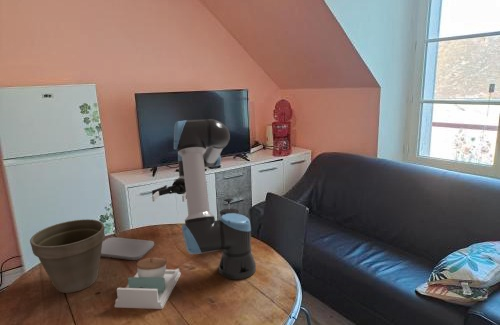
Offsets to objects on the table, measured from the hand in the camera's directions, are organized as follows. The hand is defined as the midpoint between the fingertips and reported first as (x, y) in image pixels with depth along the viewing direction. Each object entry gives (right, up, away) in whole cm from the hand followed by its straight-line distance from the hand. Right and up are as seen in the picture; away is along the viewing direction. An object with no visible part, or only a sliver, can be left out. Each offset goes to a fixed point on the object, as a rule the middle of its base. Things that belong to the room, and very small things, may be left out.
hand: (168, 198), depth 150 cm
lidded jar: (-1, -30, -21) cm, 36 cm away
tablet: (-23, -26, +10) cm, 36 cm away
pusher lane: (-1, -32, -23) cm, 39 cm away
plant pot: (-32, -31, -17) cm, 48 cm away
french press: (+26, -24, +12) cm, 37 cm away
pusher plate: (-1, -31, -26) cm, 40 cm away
